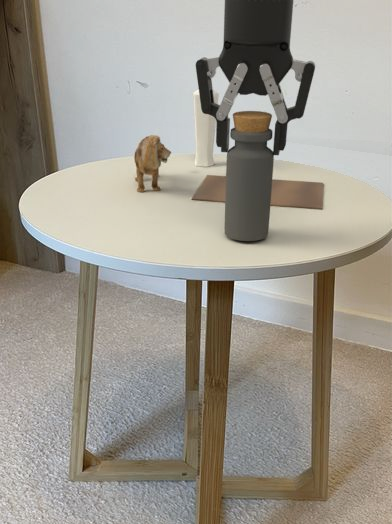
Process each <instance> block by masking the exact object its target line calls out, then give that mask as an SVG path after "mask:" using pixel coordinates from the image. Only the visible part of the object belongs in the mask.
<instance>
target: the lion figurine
mask: <svg viewBox="0 0 392 524" xmlns="http://www.w3.org/2000/svg"><path fill="white" fill-rule="evenodd" d="M171 154H172V151H171V150H169V149H168V148H167V147H165V145H164V144H163V143H162V141H161V137H160V136H159V135H153V134H151V135H147V136H145V137H144V138H142V139H141V141H140V142H139V143H138V146H137V148H136V149H135V152H134V157H133V159H134V165H135V167H136V171H135V172H136V177H135V178H134V180H135V181H136V182H137V184H138V185H137V186H138V187H137V188H136V192H137V193H144V192H145V189H146V188H145V183H144V182H145V181H144V176H145V175H146V176H147V175H148V176H152V179H151V188H152V190H153V191H154V192H157V191H158V192H159V191H160V190H162V189H161V186H159V184H158V183H159V176H160V175H159V174H160V172H159V171H160V170H159V168H160V167H161V165H162V163H163V164H167V162H168V158H169V157H171Z"/></svg>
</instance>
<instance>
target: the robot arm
mask: <svg viewBox="0 0 392 524" xmlns="http://www.w3.org/2000/svg"><path fill="white" fill-rule="evenodd" d="M223 9H224V10H223V11H224V14H223V45H222V50H221V52H220V54H219V56H217V57H211V58H207V57H201V58H200V59H198V60H197V61H196V62H195V72H196V79H197V87H198V89H199V95H200V102H201V110H202V112H203V113H204V114H209V115H211V116H213V117H214V118H215V119H216V127H215V144H216V147H217V148H220V152H221V153H227V152H228V150H229V149H230V132H231V129H230V127H231V118H230V117H229V114H230V112H231V109H232V107H233V105H234V104H235V101H236V99H237V98H238V96H239V95H240V96H247V95H251V94H254V95H257V96H262V97H265V96H268V98H269V101H270V104H271V106H272V108H273V111H274V114H275V116H276V121H275V123H274V132H273V133H274V134H273V135H274V136H273V149H272V151H273V155H274V156H279V155H280V152H282V151H284V150H285V148H286V145H287V138H288V137H287V136H288V125H289V122H291V121H293V120H296V119H301V118H303V117H304V114H305V110H306V106H307V102H308V99H309V98H308V97H309V95H310V90H311V87H312V82H313V79H314V75H315V70H316V63H315V62H314V61H312V60H308V61H304V60H299V59H294V57H293V55H292V52H291V37H292V25H293V10H294V0H224V8H223ZM218 68H220V70H221V71H222V73H223V74H224V76H225V78H226V79H227V81H228V83H229V84H228V86H227V89H226V91H225V93H224V96H223V97H222V100H221V102H220V104H219V103H218V104H216V103H214V96H213V90H214V89H213V88H214V87H213V82H212V79H214V77H215V76H216V74H217V70H218ZM290 70H292V71H294V75H295V76H294V78H295V80H296V81H297V82H299V88H298V92H297V95H296V100H295V104H294V105H293V106H290V107H288V106H287V103H286V101H285V96H284V94H283V91H282V88H281V85H280V84H281V82H282V81H283V80H284V79H285V77H286V76H287V74H288V73H289V72H290Z"/></svg>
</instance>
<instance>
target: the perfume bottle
mask: <svg viewBox="0 0 392 524" xmlns="http://www.w3.org/2000/svg"><path fill="white" fill-rule="evenodd" d="M219 94H220V93H218V92H217V91H216V90H214V89H213V96H214V103H216V104H218V105H219ZM192 95H193V114H194V115H193V116H194V138H195V139H194V140H195V157H194V161H193V162H194V166H195V167H205V168H209V167H212V166H213V165H215V160H214V146H215V138H216V124H217V122H216V119H215V118H214V117H213V116H211V115H209V114H204V113H203V112H202V110H201V102H200V95H199V88H198V89H196V90H195V91H193V93H192Z"/></svg>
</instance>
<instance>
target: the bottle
mask: <svg viewBox="0 0 392 524" xmlns="http://www.w3.org/2000/svg"><path fill="white" fill-rule="evenodd" d="M272 118H273V114H272V113H270V112H266V111H260V110H243V111H241V110H240V111H235V112H234V113H232V120H233V127H232V128H231V129H230V133H229V138H230V139H232V140H233V141H234V145H233V146H231V147H229V150H228V151H227V152H226V166H225V167H226V169H225V176H226V192H225V202H224V234H225V236H226V237H227V238H230V239H232V240H235V241H242V242H255V241H259V240H263V239H266V238H267V237H268V235H269V229H270V217H271V216H270V215H271V206H270V204H271V191H272V179H273V177H274V176H273V175H274V160H275V159H274V158H275V155H273V149H271V148H270V147H268V142H269V141H271V140H272V139H273V135H274V134H273V133H274V132H273V130H272V129H271V128H270V125H271V123H272V122H271V121H272Z"/></svg>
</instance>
